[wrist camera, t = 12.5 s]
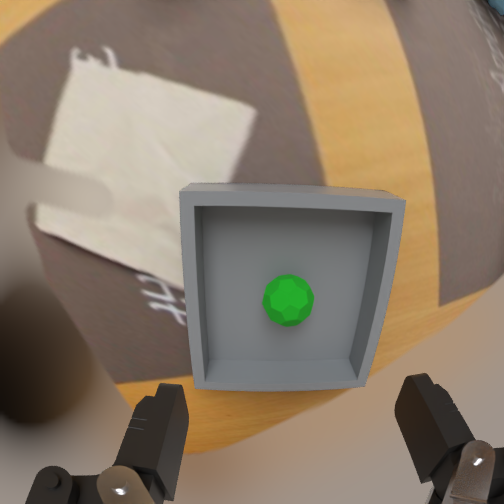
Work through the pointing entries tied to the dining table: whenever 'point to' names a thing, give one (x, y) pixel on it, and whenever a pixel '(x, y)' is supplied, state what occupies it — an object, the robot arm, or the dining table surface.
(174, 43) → the dining table surface
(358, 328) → the crate
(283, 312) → the polyhedron
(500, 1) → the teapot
